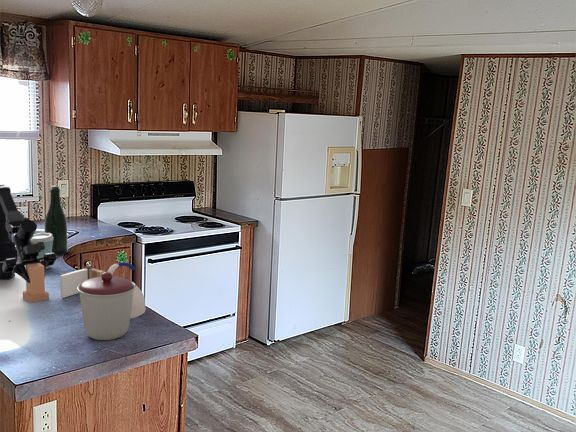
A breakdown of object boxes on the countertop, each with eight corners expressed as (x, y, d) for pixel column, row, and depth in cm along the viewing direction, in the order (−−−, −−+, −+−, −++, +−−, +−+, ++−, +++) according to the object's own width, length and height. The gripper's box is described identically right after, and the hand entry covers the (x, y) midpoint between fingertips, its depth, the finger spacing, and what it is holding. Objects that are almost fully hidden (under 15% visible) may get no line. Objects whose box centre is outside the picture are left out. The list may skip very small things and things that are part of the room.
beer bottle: (40, 254, 278) (38, 186, 272) (51, 249, 288) (50, 183, 282) (61, 256, 277) (59, 188, 271) (71, 251, 287) (70, 185, 281)
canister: (114, 320, 202) (114, 261, 198) (147, 334, 190) (147, 273, 186) (66, 333, 188) (65, 271, 184) (98, 350, 177) (97, 284, 173)
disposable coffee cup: (42, 272, 251) (41, 238, 248) (22, 268, 254) (21, 235, 251) (59, 266, 260) (58, 233, 258) (40, 263, 264) (39, 231, 261)
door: (82, 288, 231) (82, 267, 229) (87, 290, 230) (87, 269, 228) (58, 296, 221) (57, 274, 219) (63, 297, 220) (62, 276, 218)
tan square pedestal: (22, 297, 218) (21, 264, 216) (41, 294, 223) (40, 261, 221) (29, 302, 213) (28, 269, 211) (48, 299, 218) (48, 266, 216)
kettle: (74, 315, 204) (74, 266, 201) (111, 298, 223) (111, 253, 220) (123, 325, 198) (123, 274, 194) (156, 307, 217) (157, 260, 213)
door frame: (104, 292, 229) (104, 268, 227) (99, 294, 227) (99, 269, 225) (67, 282, 239) (66, 259, 237) (62, 283, 237) (62, 260, 235)
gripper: (3, 238, 210) (15, 274, 204) (54, 232, 223) (67, 266, 217) (-4, 254, 217) (8, 290, 211) (46, 247, 230) (59, 281, 224)
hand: (36, 281), depth 216 cm, fingers closed on tan square pedestal, 5 cm apart
